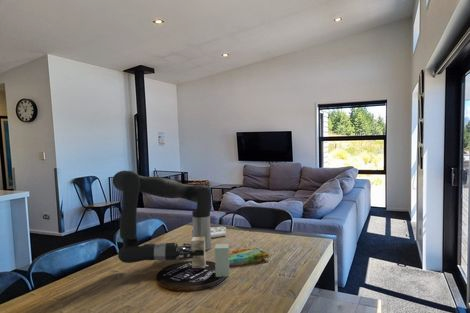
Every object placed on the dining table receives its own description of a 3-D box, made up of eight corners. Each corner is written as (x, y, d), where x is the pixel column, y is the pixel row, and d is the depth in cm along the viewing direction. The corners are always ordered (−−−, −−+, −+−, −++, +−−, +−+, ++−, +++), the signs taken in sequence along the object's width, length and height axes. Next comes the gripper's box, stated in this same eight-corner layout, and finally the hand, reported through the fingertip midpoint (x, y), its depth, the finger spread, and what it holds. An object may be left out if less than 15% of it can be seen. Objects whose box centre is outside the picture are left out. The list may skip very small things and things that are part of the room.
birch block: (192, 268, 147) (191, 240, 147) (193, 263, 153) (192, 237, 152) (204, 267, 147) (203, 240, 147) (205, 263, 153) (205, 236, 152)
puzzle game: (219, 251, 161) (258, 245, 167) (219, 261, 161) (258, 254, 167) (227, 259, 150) (268, 252, 156) (227, 269, 150) (268, 262, 156)
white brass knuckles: (201, 240, 194) (194, 234, 208) (231, 236, 201) (222, 230, 215) (201, 235, 194) (194, 229, 208) (230, 230, 201) (222, 225, 214)
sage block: (215, 277, 140) (214, 248, 139) (216, 272, 145) (215, 244, 144) (229, 276, 140) (228, 248, 139) (229, 271, 145) (228, 243, 144)
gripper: (162, 248, 142) (202, 247, 142) (168, 238, 157) (205, 237, 157) (162, 266, 143) (203, 264, 143) (169, 254, 157) (206, 253, 157)
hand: (204, 250), depth 150 cm, fingers closed on birch block, 5 cm apart
